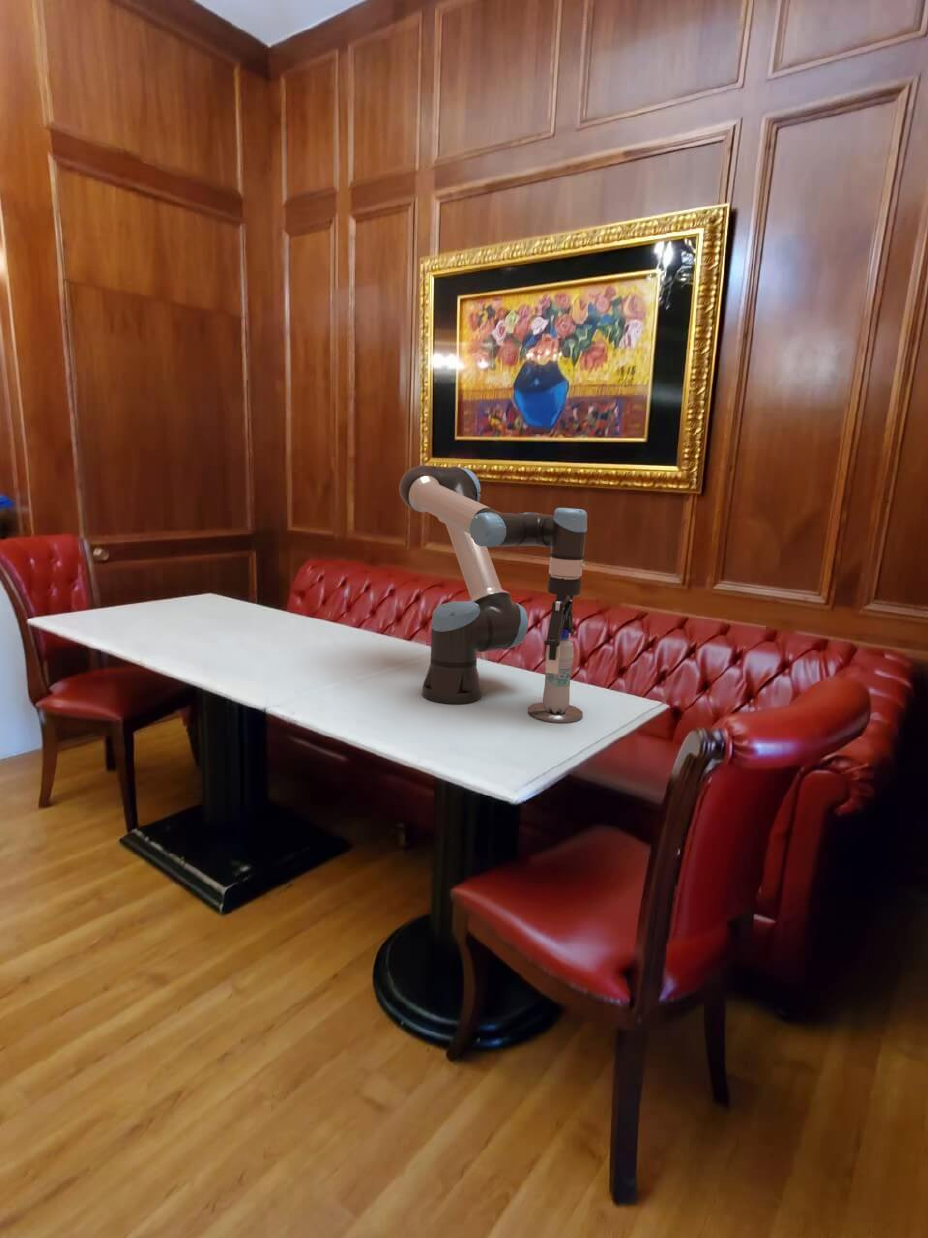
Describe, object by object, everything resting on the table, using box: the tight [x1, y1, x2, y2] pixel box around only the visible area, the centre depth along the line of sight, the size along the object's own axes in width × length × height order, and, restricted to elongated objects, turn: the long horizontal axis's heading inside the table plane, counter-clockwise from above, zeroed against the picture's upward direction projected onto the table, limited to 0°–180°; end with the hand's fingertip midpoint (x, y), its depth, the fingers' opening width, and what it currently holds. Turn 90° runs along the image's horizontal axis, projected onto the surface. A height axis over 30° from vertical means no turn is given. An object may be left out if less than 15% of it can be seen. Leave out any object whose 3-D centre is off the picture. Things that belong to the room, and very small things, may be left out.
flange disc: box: [527, 701, 584, 724], centre depth 167 cm, size 13×13×1 cm
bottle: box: [542, 629, 575, 713], centre depth 165 cm, size 7×7×20 cm
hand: (557, 665), depth 165 cm, fingers open, 13 cm apart
